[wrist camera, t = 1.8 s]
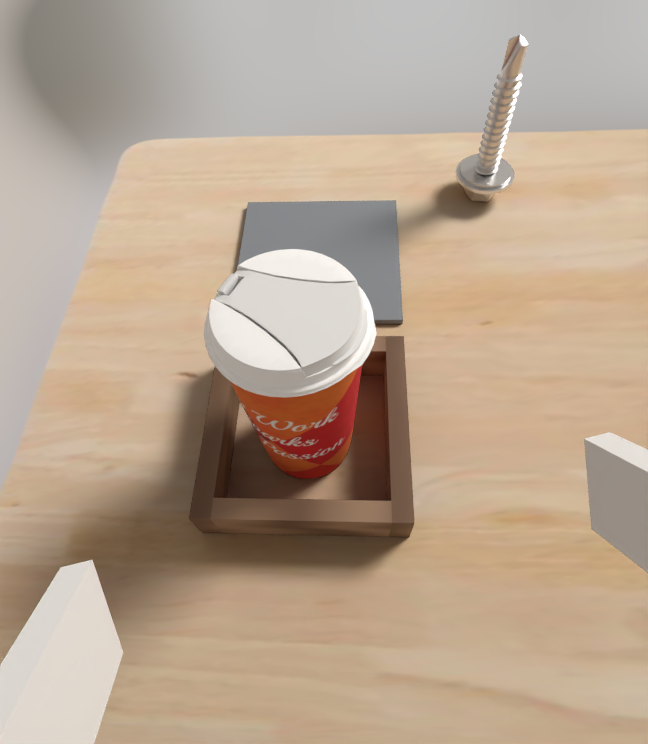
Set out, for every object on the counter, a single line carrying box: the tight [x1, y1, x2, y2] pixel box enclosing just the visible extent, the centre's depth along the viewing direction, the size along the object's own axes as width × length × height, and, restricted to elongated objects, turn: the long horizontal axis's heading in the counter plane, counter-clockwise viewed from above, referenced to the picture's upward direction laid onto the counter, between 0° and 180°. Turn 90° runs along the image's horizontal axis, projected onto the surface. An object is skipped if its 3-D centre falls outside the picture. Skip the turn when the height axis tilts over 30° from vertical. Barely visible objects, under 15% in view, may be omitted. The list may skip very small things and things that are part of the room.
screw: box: [456, 35, 528, 202], centre depth 41 cm, size 13×5×5 cm
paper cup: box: [204, 249, 376, 479], centre depth 28 cm, size 8×8×14 cm
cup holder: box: [189, 336, 414, 537], centre depth 33 cm, size 12×12×3 cm
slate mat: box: [238, 200, 403, 324], centre depth 43 cm, size 13×13×1 cm
